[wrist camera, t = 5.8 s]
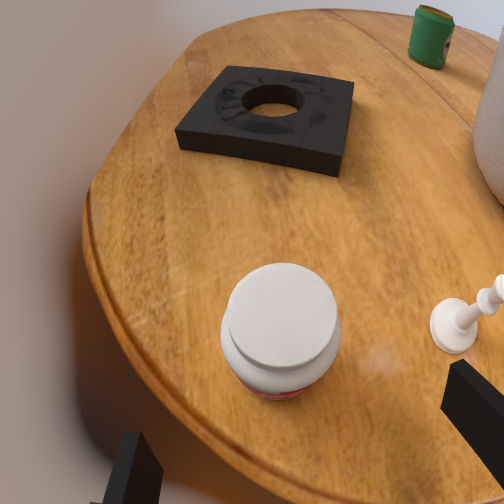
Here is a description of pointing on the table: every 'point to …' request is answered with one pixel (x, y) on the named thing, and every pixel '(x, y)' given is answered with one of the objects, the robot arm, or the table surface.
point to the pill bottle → (280, 330)
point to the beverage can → (430, 37)
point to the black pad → (271, 119)
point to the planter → (492, 126)
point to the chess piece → (463, 318)
